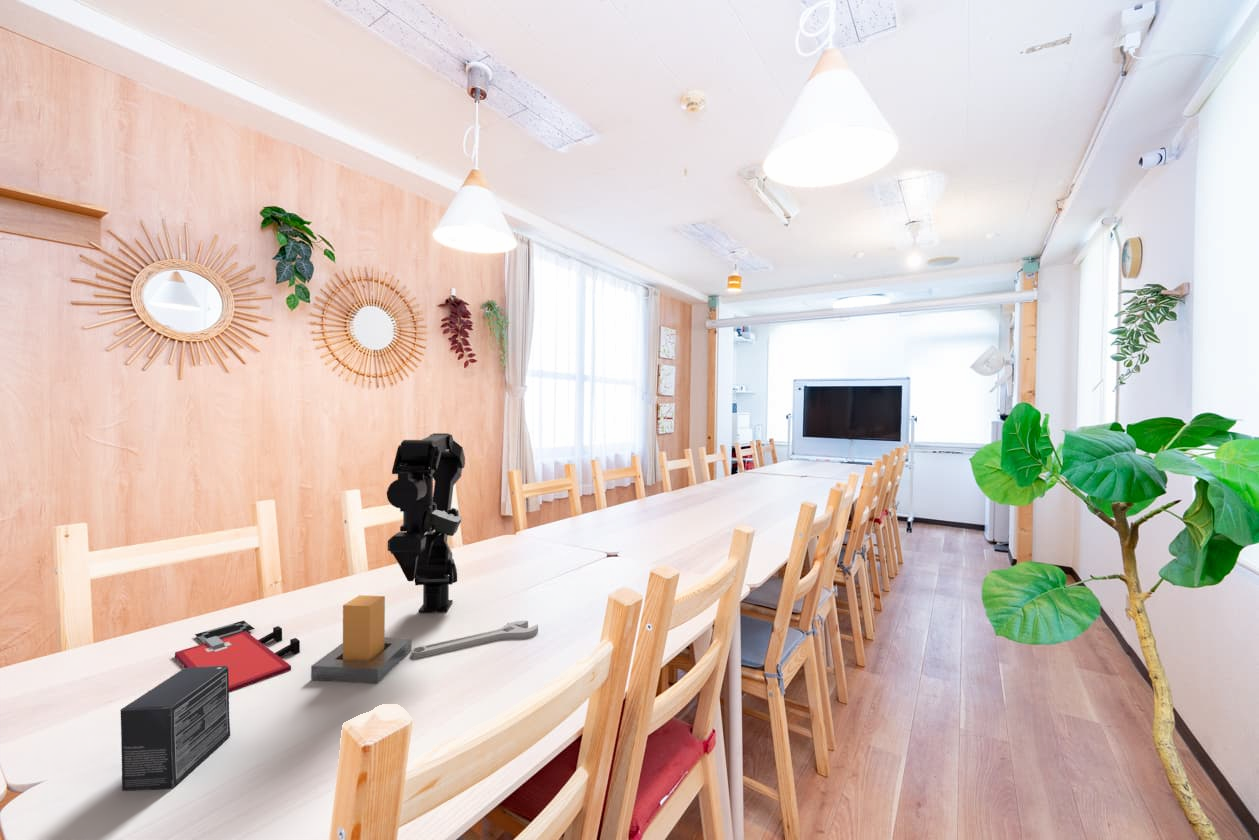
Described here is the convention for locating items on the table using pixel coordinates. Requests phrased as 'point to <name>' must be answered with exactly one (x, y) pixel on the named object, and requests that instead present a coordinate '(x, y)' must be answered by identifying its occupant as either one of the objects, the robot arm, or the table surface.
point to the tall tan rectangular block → (363, 628)
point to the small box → (174, 728)
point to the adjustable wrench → (478, 639)
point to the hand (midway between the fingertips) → (417, 573)
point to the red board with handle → (239, 654)
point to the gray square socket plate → (361, 663)
